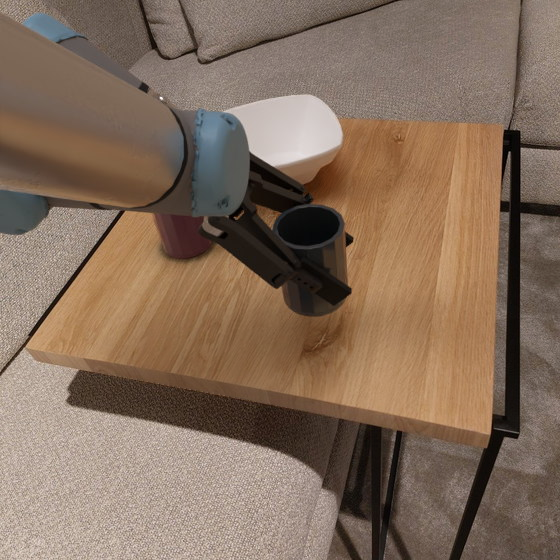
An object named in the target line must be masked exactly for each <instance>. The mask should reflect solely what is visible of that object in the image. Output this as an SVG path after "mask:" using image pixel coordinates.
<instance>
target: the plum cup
mask: <svg viewBox="0 0 560 560" xmlns="http://www.w3.org/2000/svg"><path fill="white" fill-rule="evenodd" d="M151 217H152V219H153V222H154V225H155V228H156V231H157V235H158V236H159V240H160V242H161V245H162V248H163V250H164V252H165V253H166V254H167V255H168V256H170V257H172V258H175V259H182V260H183V259H190V258H194V257H197V256H200V255H201V254H203V253H205V252H206V251H207V250H209V248H210V247H211V246H212V244H213V241H211V240H209V239H207V238H205V237H203V236H201V235H200V234H199V232H198V228H199V227H200V225H201V224H202V223H203V222H204V216H200V217H192V216H183V215H170V214H158V213H151Z"/></svg>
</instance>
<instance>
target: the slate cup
mask: <svg viewBox="0 0 560 560" xmlns="http://www.w3.org/2000/svg"><path fill="white" fill-rule="evenodd" d="M271 229H272V230H273V232H274V233H275V234H276V235H277V236H278V237H279V238H280V239H281V240H282V241H283V242H284V243H285V245H286V246H287V247H288V248H289V249H290V250H291V251H292V252H293V253H294V254H295V255H296V257H297V258H298V259H299V260H300V259H301V258H302V257H303V256H305V257H307V258H308V259H309V260H311V261H312V262H314V263H315V264H317V265H318V266H320V267H321V268H323V269H324V270H326V271H327V272H328V273H330V274H331V275H333V276H334V277H336V278H337V279H339V280H340V281H342V282H343V283H345V284H346V285H348V286H349V279H348V257H347V247H346V237H345V232H346V223H345V220H344V217H343V215H342V214H341V213H340V212H339V211H337V210H336V209H335V208H333V207H330V206H328V205H325V204H320V203H319V204H318V203H310V204H305V205H300V206H296V207H293V208H291V209H288V210H286V211H284V212H283V213H280V215H278V216H277V217H276V218H275V219H274V222H273V225H272V228H271ZM284 262H286V261H284ZM286 263H287V262H286ZM280 288H281V293H282V297H283V301H284V303H285V305H286V307H287V308H288V309H289V310H290V311H292V312H293V313H294V314H297V315H299V316H303V317H309V318H319V317H324V316H327V315H330V314H333V313H335V312H336V311H338V310H339V309H340V308H341V307H342V306H343V305H344V304H345V302H346V300H347V298H348V296H347V297H346V298H345V299H343V300H342V301H341V302H339V303H338V304H336V305H335V306H333V305H331V304H330V303H328V302H327V301H325V300H324V299H322V298H321V297H319V296H318V295H316V294H315V293H309V292H308V291H306V290H305V289H303V288H302V287H300V286H299V285H297V284H296V283H294V282H293V281H291V280H288V281H287V282H286V283H284V284H283V285H282V286H281V287H280Z"/></svg>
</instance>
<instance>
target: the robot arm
mask: <svg viewBox="0 0 560 560" xmlns="http://www.w3.org/2000/svg"><path fill="white" fill-rule="evenodd" d="M290 188H291V189H290ZM306 192H307V188H306V186H304V184H303V185H302V184H301V183H299V182H297V181H296V180H294V179H292V178H291V177H289V176H288V175H286V174H284V173H283V172H281V171H279V170H278V169H276V168H275V167H273V166H271V165H270V164H268V163H267V162H265V161H263V160H262V159H260V158H258V157H257V156H255V155H254V154H252V153H251V152H250V151H249V145H248V140H247V136H246V132H245V130H244V127H243V125H242V123H241V122H240V120H239V119H238V118H237V117H236V116H234V115H233V114H230V113H227V112H223V111H214V110H206V109H205V108H197V109H196V110H186V109H181V108H179V106H177V105H175V104H174V103H173V102H171V101H170V100H168V97H166V96H165V95H164V94H160V93H159V92H157V91H156V90H154V89H153V88H152V87H150V86H149V85H148V84H147V83H146V82H144V81H143V80H141V79H139V78H138V77H137V76H135V75H134V74H133V73H131V72H130V71H129V70H128V69H127V68H125V67H124V66H122V65H121V64H120V63H118V62H117V61H116V60H115V59H113V58H112V57H110V56H109V55H108V54H107V53H105V52H104V51H103V50H101V49H100V48H98V47H97V46H96V45H95V44H93V43H92V42H90V41H89V39H88V38H87V37H86V36H85V35H84V34H82V33H80V32H77V31H75V30H74V29H72V28H70V27H69V26H67V25H66V24H64V23H62V21H59V20H58V19H56V18H55V17H53V16H52V15H50V14H48V13H46V12H45V13H44V12H37V13H33V14H32V15H30V16H29V17H27V18H26V19H25V20H24V21H23V22H19V21H18V20H16V19H14V18H12V17H11V16H9V15H7V14H6V13H4V12H2V11H0V234H3V235H8V236H9V235H10V236H20V235H21V236H22V235H24V234H26V233H29V232H31V231H33V230H36V229H37V227H38V226H40V224H41V223H42V222H43V221H44V220H45V219H47V218H48V216H49V215H50V210H51V209H53V208H62V209H63V208H64V209H78V210H79V209H81V210H93V211H123V212H132V213H133V212H136V213H147V214H152V213H158V214H170V215H183V216H192V217H200V216H204V222H203V223H202V224H201V225H200V227H199V228H198V232H199V234H200V235H201V236H203V237H205V238H207V239H209V240H211V241H212V243H215V244H217V245H218V246H220V247H221V248H223V249H224V250H225V251H227V252H228V253H229V254H230V255H231V256H233V257H234V258H235V259H237V260H238V261H239V262H240V263H242V264H243V265H244V266H245V267H247V268H248V269H249V270H251V272H252V273H254V274H255V275H257V276H258V277H259V278H261V280H263V281H264V282H265V283H267V284H268V285H269V286H271V287H272V288H273V289H275V290H279V289H280V288H282V287H281V286H282V285H283V284H284V283H286V282H287V281H288V280H291V281H293V282H294V283H296V284H297V285H299V286H300V287H302V288H303V289H305V290H306V291H308V292H309V293H315V294H316V295H318V296H319V297H321V298H322V299H324V300H325V301H327V302H328V303H330V304H331V305H333V306H335V305H336V304H338V303H339V302H341V301H342V300H343V299H345V298H346V297H347V298H348V297H349V296H350V295H352V294H353V293H352V292H353V288H352V287H350V286H349V284H348V285H346V284H345V283H343V282H342V281H340V280H339V279H337V278H336V277H334V276H333V275H331V274H330V273H328V272H327V271H326V270H324V269H323V268H321V267H320V266H318V265H317V264H315V263H314V262H312V261H311V260H309V259H308V258H307V257H305V256H303V257H302V258H301V259H300V260H299V259H298V258H297V257H296V255H295V254H294V253H293V252H292V251H291V250H290V249H289V248H288V247H287V246H286V245H285V243H284V242H283V241H282V240H281V239H280V238H279V237H278V236H277V235H276V234H275V233H274V232H273V230H272V228H271V227H270V226H269V224H267V222H265V220H264V219H263V218H261V216H260V215H259V214H258V207H257V206H259V207H263V208H266V209H269V210H272V211H274V212H276V213H280V214H282V213H283V212H284V211H286V210H288V209H291V208H293V207H296V206H300V205H305V204H312V203H313V201H314V196H313V195H312V193H310V192H307V193H306ZM305 193H306V194H305ZM236 218H237V219H236ZM345 237H346V248H348V247H349V246H350V245H352V244H353V243H354V239H355V238H354V236H352V235H351V234H350V233H348V232H346V231H345ZM284 261H286V262H287V263H286V262H284ZM347 298H346V299H347Z"/></svg>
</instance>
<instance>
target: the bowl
mask: <svg viewBox="0 0 560 560" xmlns="http://www.w3.org/2000/svg"><path fill="white" fill-rule="evenodd" d="M222 112H227V113H230V114H233V115H234V116H236V117H237V118H238V119H239V120H240V122H241V123H242V125H243V127H244V130H245V132H246V136H247V140H248V145H249V151H250V152H251V153H252V154H254V155H255V156H257V157H258V158H260V159H262V160H263V161H265V162H267V163H268V164H270V165H271V166H273V167H275V168H276V169H278V170H279V171H281V172H283V173H284V174H286V175H288V176H289V177H291V178H292V179H294V180H296V181H297V182H299V183H301V184H302V185H303V186H304V185H305V184H308V183H310V182H312V181H313V180H314V179H315V178H316V176H317V174H318V173H319V171H320V170H321V168H323V167H325V166H327V165H329V164H330V163H332V162H333V161H334V159H335V158H336V156H337V155H338V153H339V152H340V150H341V149H342V148H343V145H344V144H343V143H344V137H345V135H344V132H343V128H342V125H341V122H340V120H339V118H338V116H337V115H336V114H335V112H334V111H333V110H332V109H331V108H330V106H329V105H327V103H325V102H324V101H323V100H322V99H320V98H318V97H317V96H315V95H313V94H292V95H291V94H290V95H285V96H277V97H271V98H266V99H261V100H257V101H251V102H249V103H244V104H241V105H238V106H234V107H232V108H228V109H225V110H223V111H222ZM289 190H292V189H291V188H290V189H289Z"/></svg>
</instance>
